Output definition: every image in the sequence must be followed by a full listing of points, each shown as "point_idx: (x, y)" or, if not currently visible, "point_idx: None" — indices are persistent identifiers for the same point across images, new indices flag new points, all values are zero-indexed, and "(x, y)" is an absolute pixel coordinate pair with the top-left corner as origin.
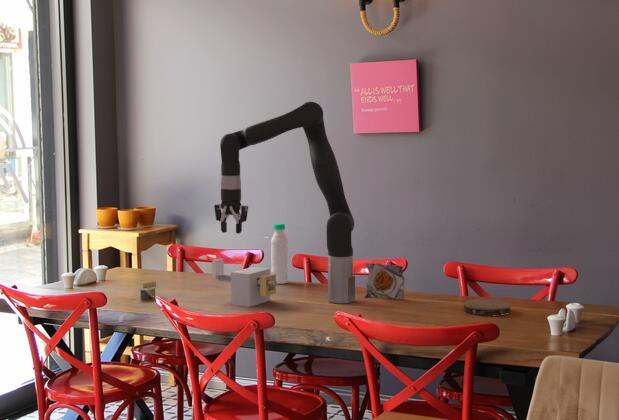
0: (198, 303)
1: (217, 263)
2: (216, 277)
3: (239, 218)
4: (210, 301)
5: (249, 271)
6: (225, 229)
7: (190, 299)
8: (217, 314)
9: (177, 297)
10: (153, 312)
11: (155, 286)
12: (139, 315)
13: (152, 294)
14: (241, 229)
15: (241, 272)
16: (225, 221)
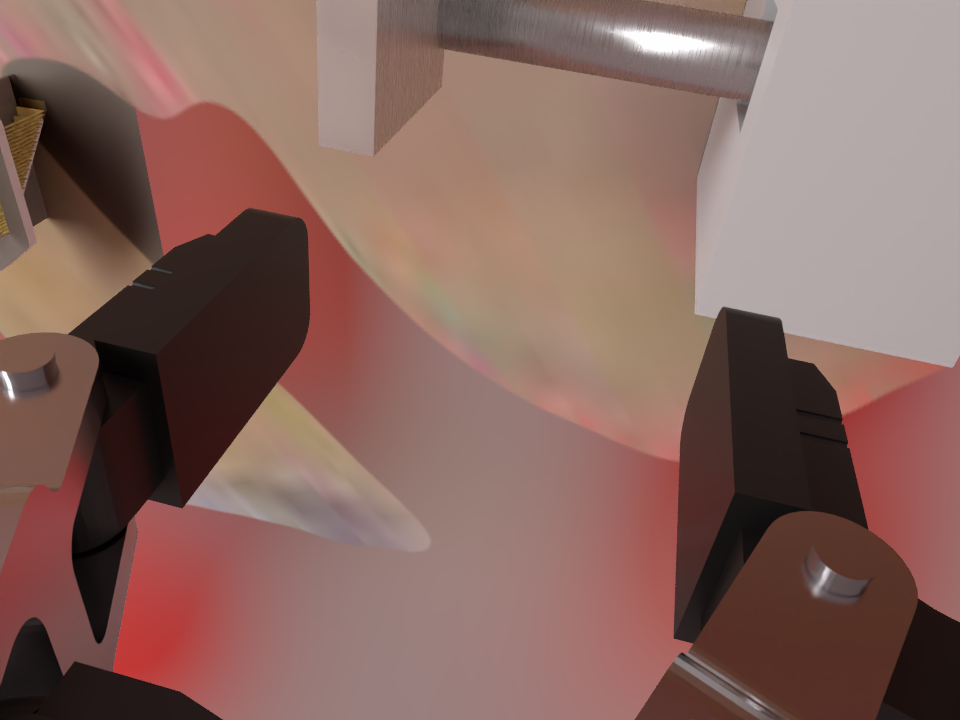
0: (430, 197)
1: (388, 101)
2: (437, 79)
3: (774, 697)
4: (473, 100)
5: (914, 202)
6: (273, 295)
7: (289, 79)
8: None
9: (156, 39)
10: (344, 470)
11: (3, 161)
12: (330, 529)
13: (31, 148)
14: (832, 421)
15: (824, 292)
16: (129, 418)
